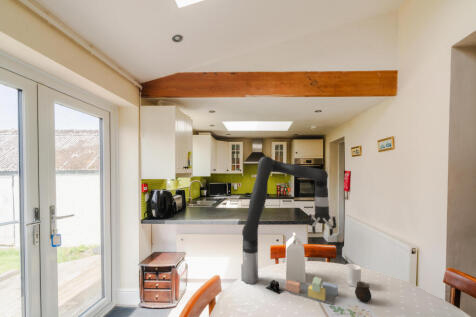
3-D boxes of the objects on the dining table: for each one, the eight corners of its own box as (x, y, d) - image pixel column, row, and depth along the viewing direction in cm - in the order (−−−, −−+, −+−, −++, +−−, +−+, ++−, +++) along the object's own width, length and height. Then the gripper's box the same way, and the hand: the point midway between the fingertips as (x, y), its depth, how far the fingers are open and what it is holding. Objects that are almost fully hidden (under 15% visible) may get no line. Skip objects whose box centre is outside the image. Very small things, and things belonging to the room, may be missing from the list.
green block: (314, 284, 118) (314, 276, 118) (321, 285, 116) (321, 278, 116) (312, 290, 112) (312, 282, 112) (319, 292, 110) (319, 284, 110)
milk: (285, 271, 143) (284, 230, 144) (303, 272, 141) (302, 231, 142) (285, 280, 131) (285, 236, 132) (305, 282, 129) (305, 237, 130)
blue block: (322, 292, 117) (322, 284, 118) (323, 289, 120) (323, 281, 121) (337, 295, 114) (336, 287, 114) (337, 292, 117) (337, 284, 117)
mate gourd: (362, 294, 116) (361, 275, 116) (375, 303, 108) (375, 282, 109) (351, 297, 113) (351, 277, 113) (364, 306, 106) (364, 285, 106)
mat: (288, 292, 118) (288, 291, 118) (295, 281, 129) (295, 281, 129) (333, 305, 107) (333, 304, 107) (335, 292, 118) (335, 291, 118)
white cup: (346, 286, 124) (346, 268, 124) (345, 279, 131) (345, 262, 132) (362, 289, 121) (361, 270, 122) (360, 282, 128) (359, 264, 129)
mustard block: (308, 296, 114) (308, 288, 114) (309, 292, 117) (309, 284, 117) (324, 300, 110) (324, 292, 110) (325, 296, 113) (325, 288, 113)
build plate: (288, 292, 120) (287, 283, 120) (280, 297, 114) (280, 288, 115) (269, 283, 128) (269, 275, 128) (261, 288, 123) (261, 280, 123)
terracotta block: (285, 289, 120) (285, 282, 120) (287, 286, 123) (287, 279, 123) (298, 293, 116) (298, 285, 116) (300, 290, 119) (300, 282, 120)
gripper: (336, 204, 122) (337, 234, 121) (310, 203, 129) (310, 231, 128) (334, 206, 116) (335, 238, 115) (307, 204, 123) (307, 234, 122)
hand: (322, 234), depth 122 cm, fingers open, 8 cm apart
